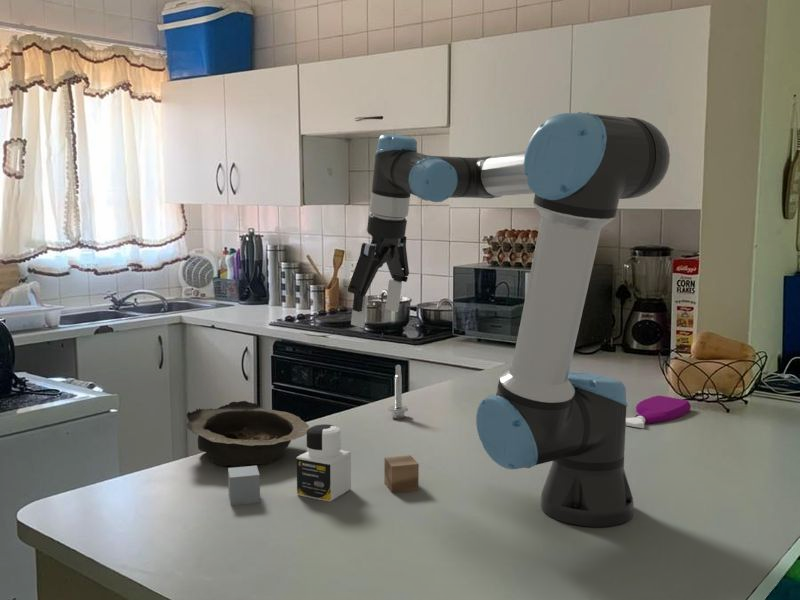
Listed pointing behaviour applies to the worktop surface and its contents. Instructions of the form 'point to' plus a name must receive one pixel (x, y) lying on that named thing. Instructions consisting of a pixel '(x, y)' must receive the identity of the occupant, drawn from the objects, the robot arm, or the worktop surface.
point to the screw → (398, 396)
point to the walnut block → (401, 474)
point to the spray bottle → (658, 410)
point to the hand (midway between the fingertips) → (375, 318)
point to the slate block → (244, 485)
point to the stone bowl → (244, 433)
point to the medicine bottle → (323, 465)
